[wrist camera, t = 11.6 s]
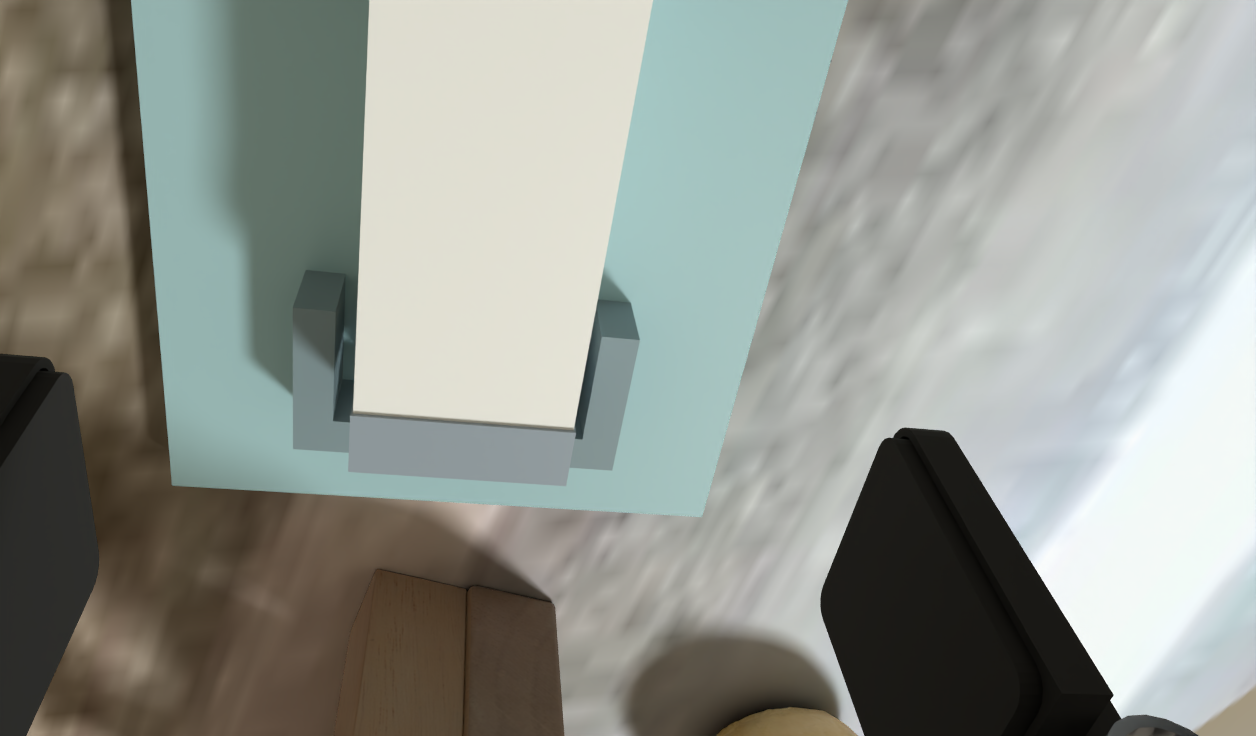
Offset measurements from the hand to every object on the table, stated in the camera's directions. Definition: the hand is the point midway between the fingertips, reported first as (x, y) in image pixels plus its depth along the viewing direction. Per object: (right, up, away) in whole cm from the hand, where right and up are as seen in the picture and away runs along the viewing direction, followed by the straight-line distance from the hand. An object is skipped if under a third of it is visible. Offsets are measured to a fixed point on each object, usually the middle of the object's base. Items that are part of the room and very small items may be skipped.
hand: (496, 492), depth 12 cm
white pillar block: (-2, +7, +12) cm, 14 cm away
